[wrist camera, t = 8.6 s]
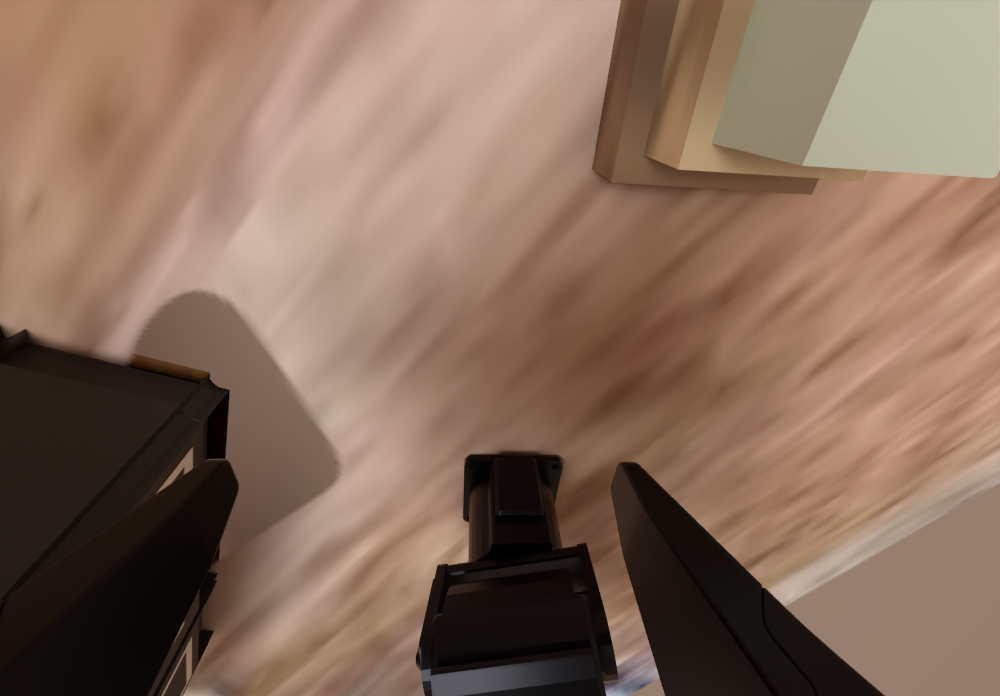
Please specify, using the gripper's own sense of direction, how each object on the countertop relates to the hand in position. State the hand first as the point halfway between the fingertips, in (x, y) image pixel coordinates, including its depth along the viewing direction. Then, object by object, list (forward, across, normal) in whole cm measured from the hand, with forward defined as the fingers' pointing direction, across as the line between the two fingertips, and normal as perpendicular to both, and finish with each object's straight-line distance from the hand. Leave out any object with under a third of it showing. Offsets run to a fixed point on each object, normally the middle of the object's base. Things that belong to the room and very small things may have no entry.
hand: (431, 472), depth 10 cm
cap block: (+6, -10, -9) cm, 15 cm away
